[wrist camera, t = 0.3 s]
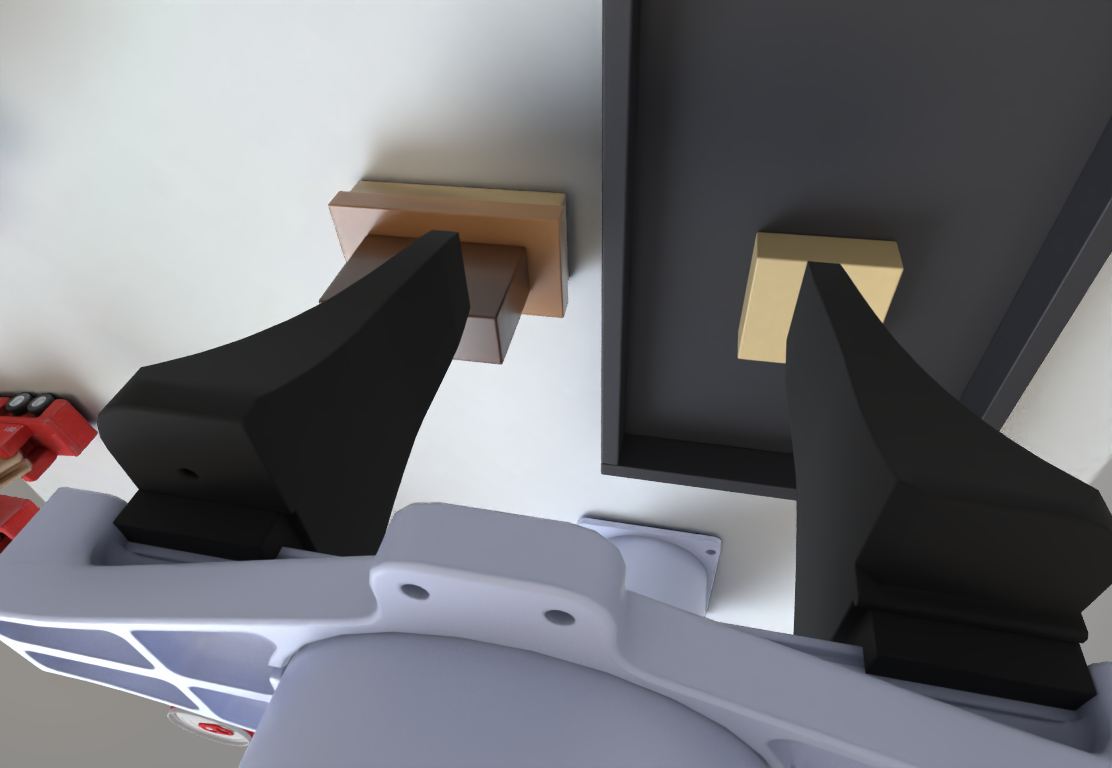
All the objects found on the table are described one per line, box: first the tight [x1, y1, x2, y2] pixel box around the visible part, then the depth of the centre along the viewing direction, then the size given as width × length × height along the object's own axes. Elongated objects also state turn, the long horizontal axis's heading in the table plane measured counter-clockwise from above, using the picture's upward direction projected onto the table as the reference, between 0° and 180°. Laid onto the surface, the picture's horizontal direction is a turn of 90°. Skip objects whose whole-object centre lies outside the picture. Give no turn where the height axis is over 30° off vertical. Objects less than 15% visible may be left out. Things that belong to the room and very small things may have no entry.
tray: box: [601, 0, 1112, 501], centre depth 23 cm, size 22×15×3 cm
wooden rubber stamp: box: [319, 181, 569, 364], centre depth 24 cm, size 4×8×6 cm, turn 92°
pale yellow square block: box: [738, 232, 904, 363], centre depth 24 cm, size 4×4×2 cm
